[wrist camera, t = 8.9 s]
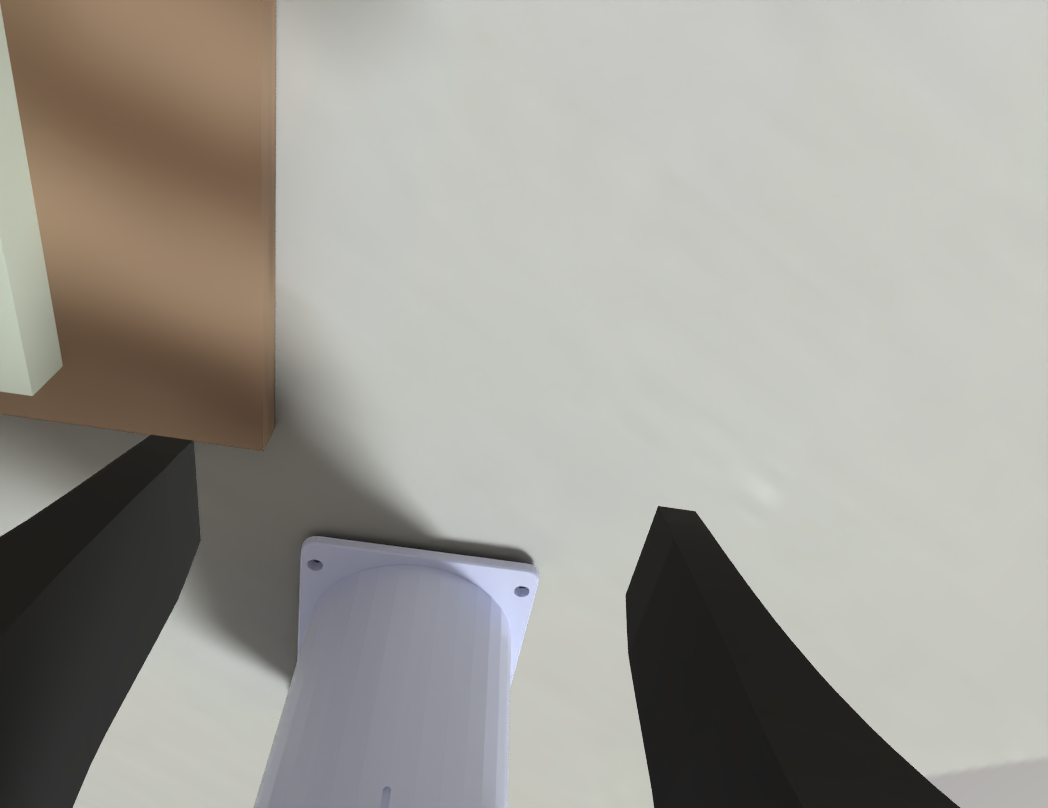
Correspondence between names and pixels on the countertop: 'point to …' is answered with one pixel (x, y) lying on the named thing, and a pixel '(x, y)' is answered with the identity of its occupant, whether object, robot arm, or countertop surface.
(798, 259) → the countertop surface
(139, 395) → the board
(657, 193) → the countertop surface
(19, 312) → the panel
